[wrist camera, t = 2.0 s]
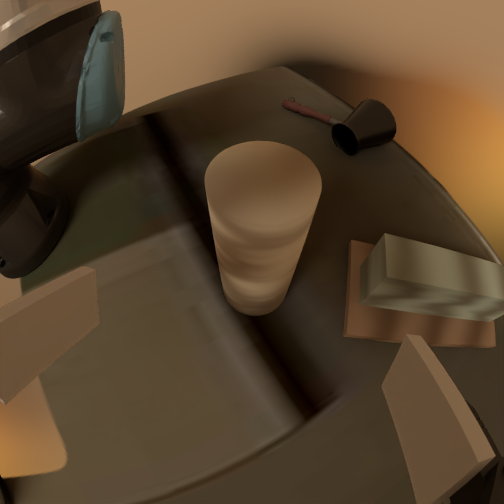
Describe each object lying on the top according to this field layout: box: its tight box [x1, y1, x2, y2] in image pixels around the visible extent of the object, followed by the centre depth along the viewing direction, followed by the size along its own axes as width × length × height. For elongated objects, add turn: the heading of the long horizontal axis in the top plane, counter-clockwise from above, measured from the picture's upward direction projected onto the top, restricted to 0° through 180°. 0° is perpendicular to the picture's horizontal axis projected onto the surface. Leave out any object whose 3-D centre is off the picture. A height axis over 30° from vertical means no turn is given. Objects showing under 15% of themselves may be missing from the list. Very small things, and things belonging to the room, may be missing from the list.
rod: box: [205, 141, 322, 316], centre depth 20 cm, size 6×6×14 cm
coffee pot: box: [282, 97, 396, 155], centre depth 38 cm, size 8×18×8 cm
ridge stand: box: [343, 233, 504, 348], centre depth 22 cm, size 21×10×7 cm, turn 78°
